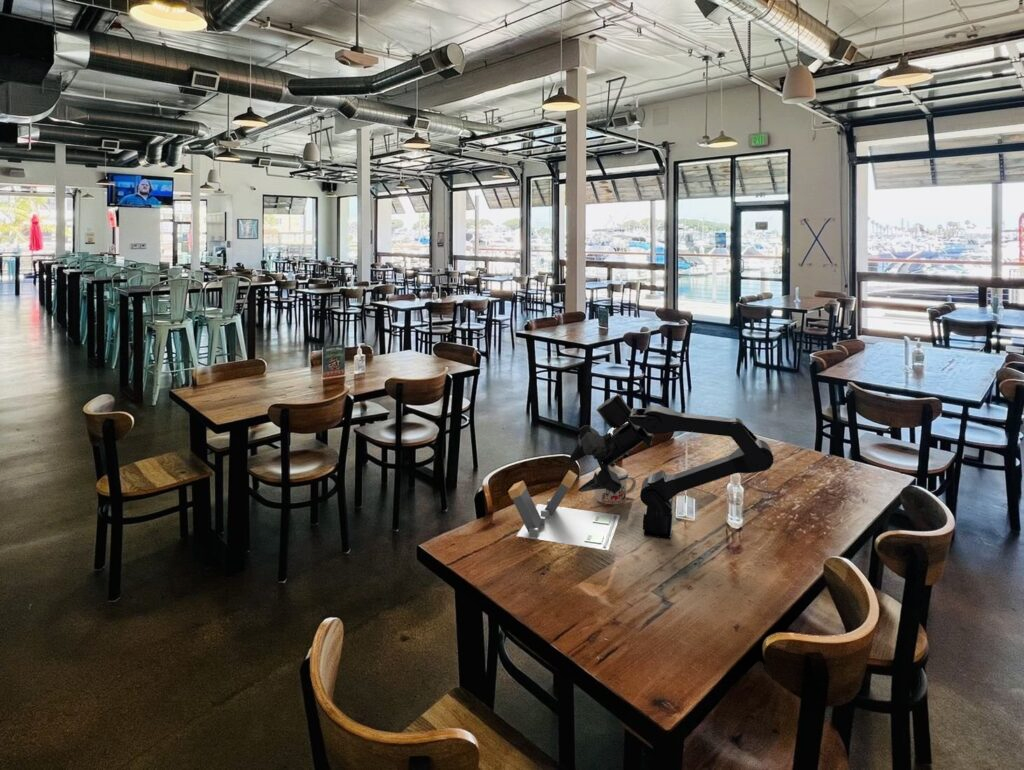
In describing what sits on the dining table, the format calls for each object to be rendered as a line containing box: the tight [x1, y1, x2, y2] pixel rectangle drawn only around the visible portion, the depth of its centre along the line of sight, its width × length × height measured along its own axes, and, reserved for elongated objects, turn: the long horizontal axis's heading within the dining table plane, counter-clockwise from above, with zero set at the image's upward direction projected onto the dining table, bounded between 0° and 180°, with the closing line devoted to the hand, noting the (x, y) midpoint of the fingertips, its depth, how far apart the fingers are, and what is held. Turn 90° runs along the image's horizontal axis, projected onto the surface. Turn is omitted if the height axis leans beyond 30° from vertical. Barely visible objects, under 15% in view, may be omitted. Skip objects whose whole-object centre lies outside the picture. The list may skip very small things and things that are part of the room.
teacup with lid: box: [593, 463, 637, 505], centre depth 176 cm, size 12×9×12 cm
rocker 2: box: [545, 469, 579, 516], centre depth 165 cm, size 3×5×11 cm
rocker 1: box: [507, 480, 542, 533], centre depth 156 cm, size 3×5×11 cm, turn 163°
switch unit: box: [516, 498, 621, 551], centre depth 160 cm, size 22×20×4 cm
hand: (573, 476), depth 163 cm, fingers open, 9 cm apart
